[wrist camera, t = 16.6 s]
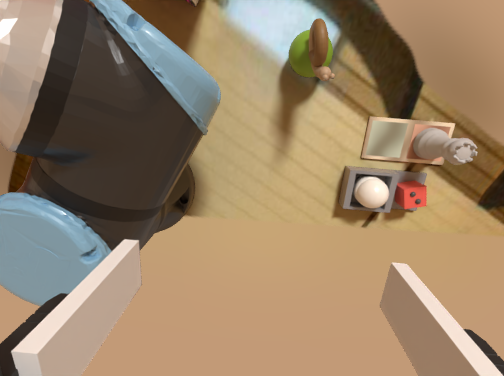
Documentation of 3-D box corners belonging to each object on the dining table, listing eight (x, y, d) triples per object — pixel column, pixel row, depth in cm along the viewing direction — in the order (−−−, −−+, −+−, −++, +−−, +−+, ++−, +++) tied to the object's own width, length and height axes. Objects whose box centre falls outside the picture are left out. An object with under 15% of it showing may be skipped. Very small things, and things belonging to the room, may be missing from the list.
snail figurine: (290, 89, 38) (301, 84, 27) (284, 39, 36) (293, 11, 25) (329, 82, 38) (357, 74, 26) (325, 31, 36) (353, -2, 24)
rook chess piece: (434, 161, 40) (474, 176, 32) (405, 153, 40) (439, 165, 32) (449, 132, 39) (494, 139, 31) (419, 123, 38) (458, 129, 31)
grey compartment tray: (338, 202, 43) (345, 212, 39) (345, 166, 41) (353, 172, 37) (414, 209, 43) (428, 219, 39) (425, 172, 41) (440, 180, 37)
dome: (349, 200, 42) (358, 211, 38) (354, 173, 40) (365, 181, 36) (377, 203, 42) (390, 214, 38) (384, 175, 40) (398, 184, 36)
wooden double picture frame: (360, 157, 41) (361, 157, 40) (369, 116, 39) (370, 116, 38) (441, 164, 40) (442, 164, 40) (453, 123, 38) (455, 123, 38)
